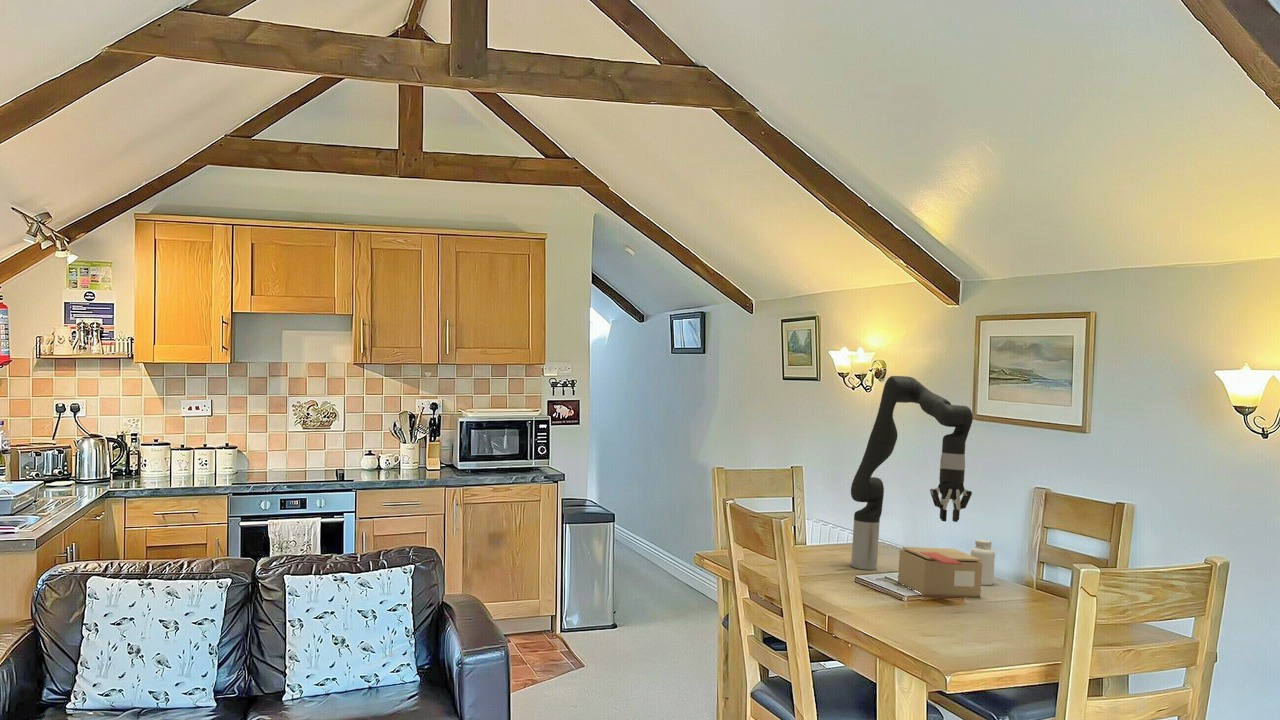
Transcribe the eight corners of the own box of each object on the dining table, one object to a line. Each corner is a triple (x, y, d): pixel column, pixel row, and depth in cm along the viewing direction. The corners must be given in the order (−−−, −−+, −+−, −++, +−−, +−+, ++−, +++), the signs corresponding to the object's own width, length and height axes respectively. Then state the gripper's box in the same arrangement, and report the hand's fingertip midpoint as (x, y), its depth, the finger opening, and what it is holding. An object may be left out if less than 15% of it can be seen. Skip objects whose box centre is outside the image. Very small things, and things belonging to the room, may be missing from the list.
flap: (914, 553, 323) (914, 551, 323) (965, 555, 326) (965, 552, 326) (941, 565, 304) (941, 562, 304) (995, 567, 307) (995, 564, 307)
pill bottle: (968, 583, 339) (971, 540, 340) (969, 579, 347) (972, 537, 347) (992, 586, 336) (995, 543, 337) (993, 582, 344) (996, 540, 344)
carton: (897, 582, 332) (900, 546, 332) (952, 584, 335) (954, 548, 336) (923, 595, 313) (925, 557, 314) (980, 597, 317) (982, 559, 317)
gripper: (967, 467, 315) (963, 520, 315) (926, 465, 313) (923, 518, 312) (978, 469, 308) (975, 524, 307) (937, 467, 305) (934, 522, 305)
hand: (949, 521), depth 310 cm, fingers open, 3 cm apart
